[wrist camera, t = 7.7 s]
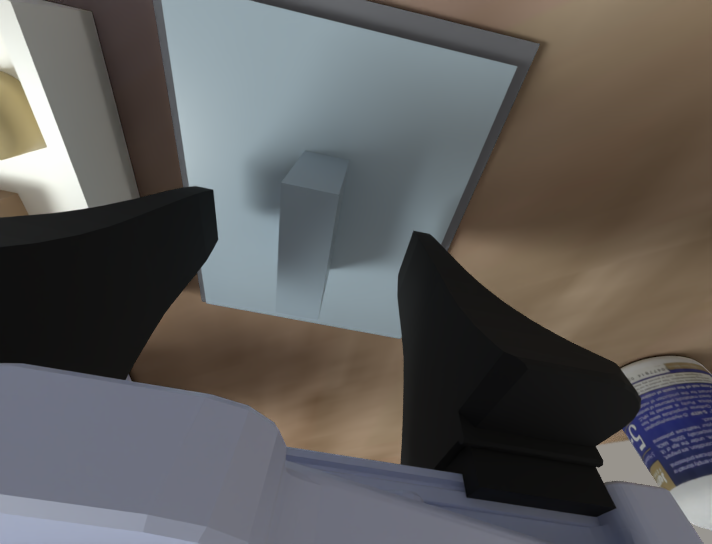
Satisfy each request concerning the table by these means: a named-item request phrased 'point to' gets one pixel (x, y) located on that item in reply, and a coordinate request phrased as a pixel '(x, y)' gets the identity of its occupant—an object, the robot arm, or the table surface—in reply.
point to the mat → (350, 7)
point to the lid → (322, 153)
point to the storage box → (57, 114)
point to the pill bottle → (675, 430)
